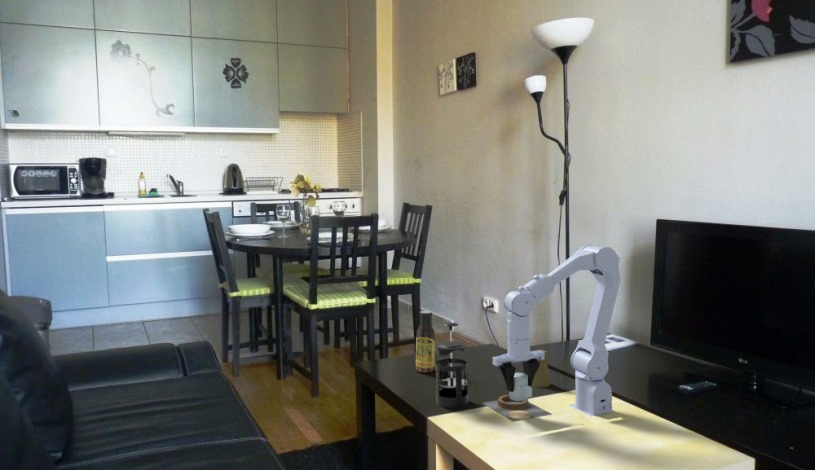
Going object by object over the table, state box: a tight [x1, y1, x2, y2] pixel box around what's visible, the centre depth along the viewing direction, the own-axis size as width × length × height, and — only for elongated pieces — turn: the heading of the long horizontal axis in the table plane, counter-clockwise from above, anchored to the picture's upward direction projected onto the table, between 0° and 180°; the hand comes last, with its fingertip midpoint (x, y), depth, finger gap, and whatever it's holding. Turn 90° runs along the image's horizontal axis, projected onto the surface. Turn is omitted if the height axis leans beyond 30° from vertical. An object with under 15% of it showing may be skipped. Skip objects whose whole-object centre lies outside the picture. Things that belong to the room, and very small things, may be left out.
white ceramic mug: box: [508, 372, 533, 401], centre depth 165 cm, size 8×5×6 cm, turn 21°
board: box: [482, 394, 552, 422], centre depth 172 cm, size 16×12×2 cm
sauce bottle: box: [415, 310, 436, 374], centre depth 212 cm, size 6×6×20 cm
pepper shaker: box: [532, 349, 551, 388], centre depth 193 cm, size 6×6×11 cm
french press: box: [434, 322, 469, 409], centre depth 178 cm, size 12×9×23 cm
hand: (519, 389), depth 166 cm, fingers closed on white ceramic mug, 5 cm apart
